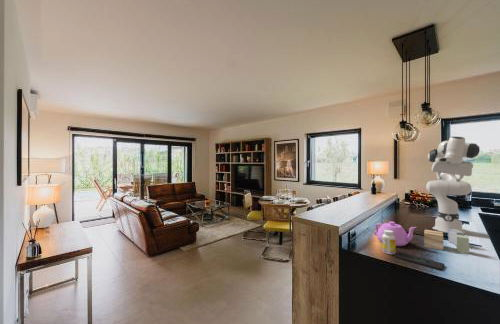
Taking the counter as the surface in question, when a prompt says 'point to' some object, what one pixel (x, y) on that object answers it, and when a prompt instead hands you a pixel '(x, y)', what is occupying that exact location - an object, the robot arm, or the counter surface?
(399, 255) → the smart home device
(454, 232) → the medicine box
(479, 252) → the counter surface
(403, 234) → the teapot
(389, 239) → the supplement bottle
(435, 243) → the tower base block
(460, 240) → the sage block
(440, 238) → the tower top block
